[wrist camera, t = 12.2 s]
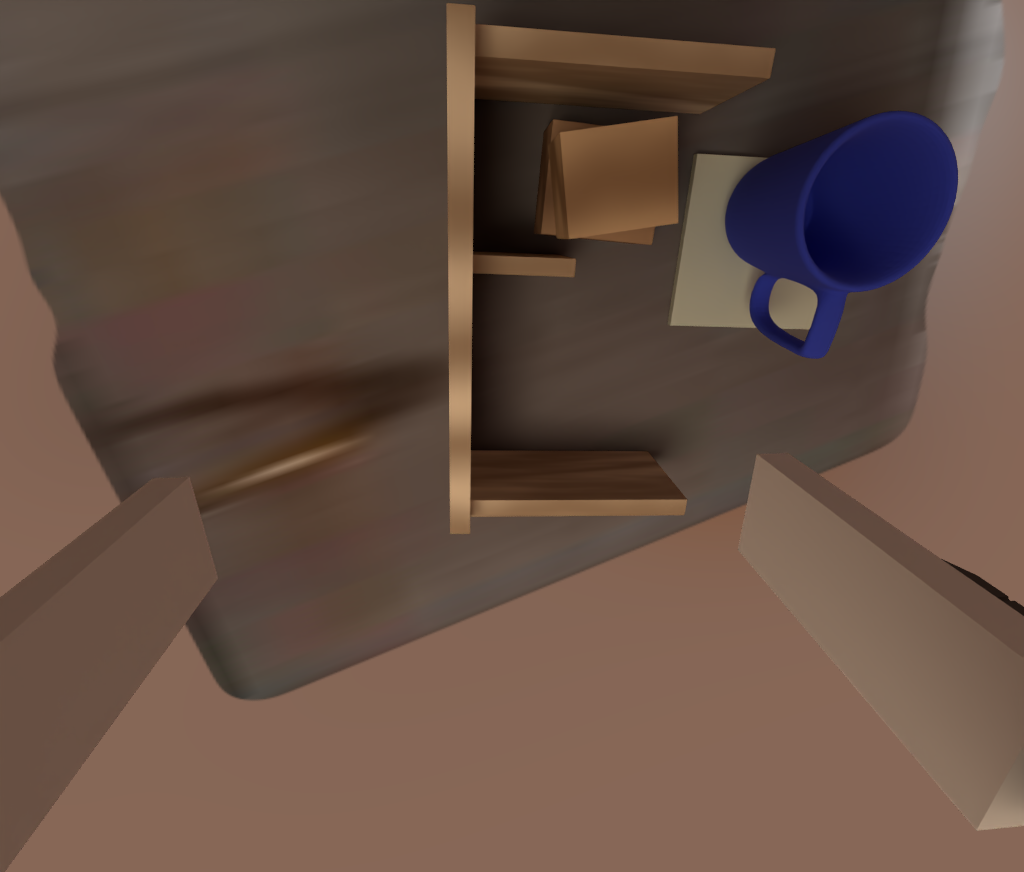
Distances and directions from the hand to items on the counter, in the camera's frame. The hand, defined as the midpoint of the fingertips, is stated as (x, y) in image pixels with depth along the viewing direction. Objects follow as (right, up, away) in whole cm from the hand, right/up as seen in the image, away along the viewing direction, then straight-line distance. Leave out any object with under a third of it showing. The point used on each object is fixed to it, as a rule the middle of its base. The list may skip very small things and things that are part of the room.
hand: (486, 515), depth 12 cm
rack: (+4, +12, +24) cm, 27 cm away
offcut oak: (+6, +17, +18) cm, 25 cm away
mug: (+18, +15, +23) cm, 33 cm away
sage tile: (+18, +15, +23) cm, 33 cm away
